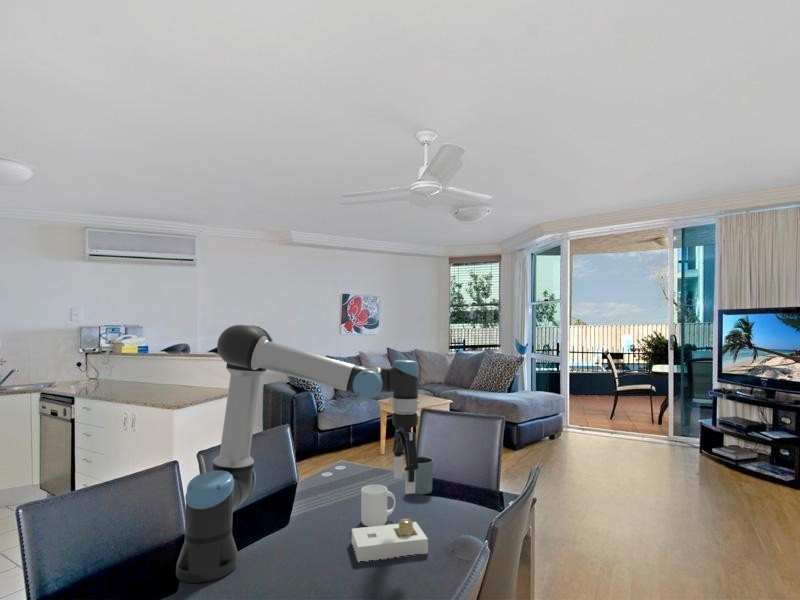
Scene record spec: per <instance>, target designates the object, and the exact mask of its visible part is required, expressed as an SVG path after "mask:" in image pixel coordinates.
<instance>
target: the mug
mask: <svg viewBox="0 0 800 600" xmlns="http://www.w3.org/2000/svg"><path fill="white" fill-rule="evenodd" d="M360 493H361V498H360V499H361V506H360V509H361V511H360V512H361V513H360V517H361V519H360V520H361V523H362V525H363V526H365V527H372V526H381V525H387V524H386V523H387V522H388V516H390V515H391V514H393V512H394V510H395V507H396V496H395V495H394V494H393V493H392V492H391V491H389V490H388V488H387V486H385V485H382V484H369V485H365V486H363V487H362V488H361V492H360ZM388 497H391V498H392V499H393V503H394V504H393V506H392V508H391V509H390V508H389V509H388Z"/></svg>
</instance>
